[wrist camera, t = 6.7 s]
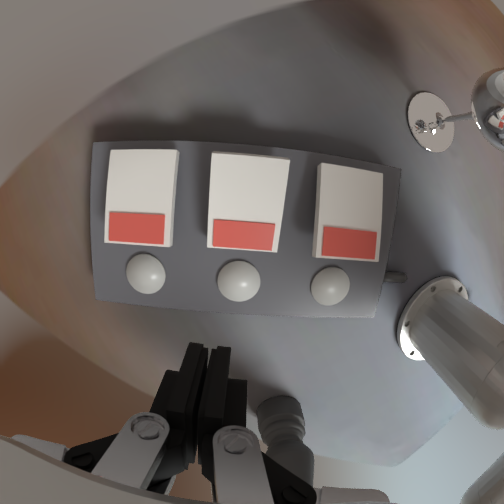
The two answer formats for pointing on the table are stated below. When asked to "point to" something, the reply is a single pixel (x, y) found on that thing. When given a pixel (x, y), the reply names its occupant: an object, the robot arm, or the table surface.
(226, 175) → the rocker
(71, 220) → the table surface
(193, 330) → the table surface
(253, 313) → the power strip
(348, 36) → the table surface
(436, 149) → the wineglass
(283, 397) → the candle holder
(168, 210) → the rocker
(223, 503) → the robot arm
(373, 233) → the rocker
